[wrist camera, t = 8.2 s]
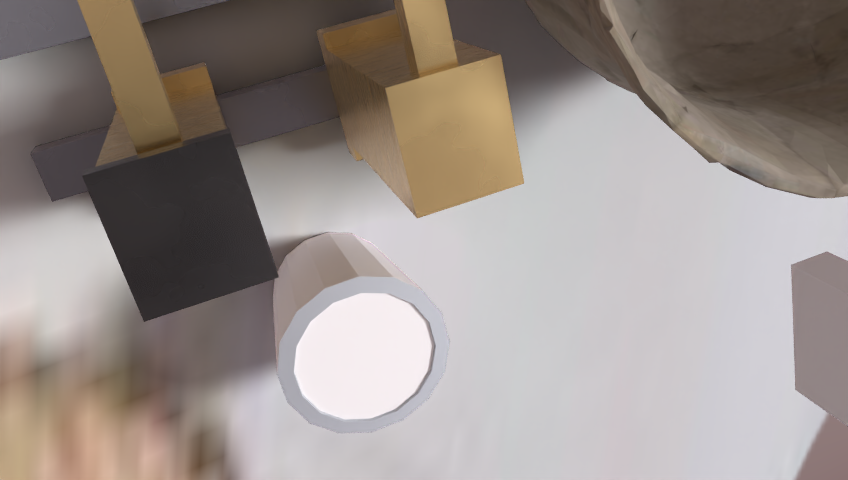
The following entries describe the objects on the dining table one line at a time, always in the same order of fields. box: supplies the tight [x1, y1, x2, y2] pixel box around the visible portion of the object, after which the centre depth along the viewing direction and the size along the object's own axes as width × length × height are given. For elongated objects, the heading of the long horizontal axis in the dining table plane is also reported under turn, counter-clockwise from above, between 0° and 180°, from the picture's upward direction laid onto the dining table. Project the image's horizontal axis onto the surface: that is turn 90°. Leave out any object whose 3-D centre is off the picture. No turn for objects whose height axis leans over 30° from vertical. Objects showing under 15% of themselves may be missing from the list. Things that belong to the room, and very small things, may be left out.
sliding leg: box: [77, 0, 279, 322], centre depth 24 cm, size 4×12×11 cm, turn 12°
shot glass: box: [273, 232, 450, 433], centre depth 33 cm, size 7×7×7 cm
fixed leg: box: [316, 0, 524, 218], centre depth 26 cm, size 4×12×11 cm, turn 12°
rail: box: [31, 65, 340, 202], centre depth 32 cm, size 15×2×1 cm, turn 102°
